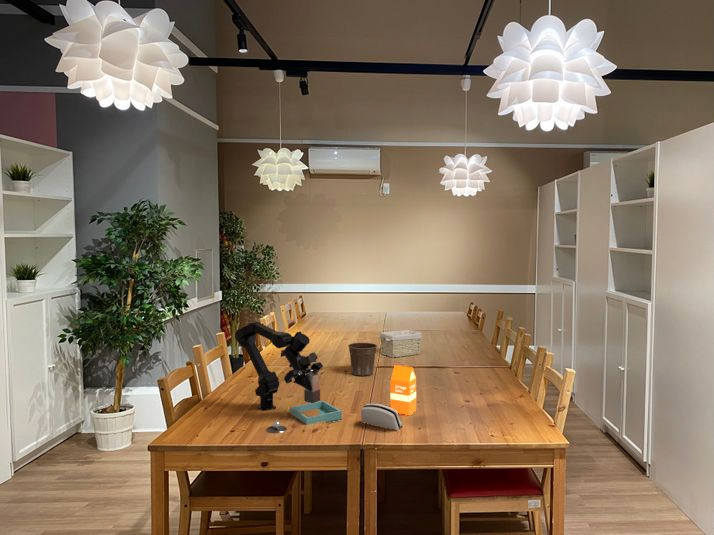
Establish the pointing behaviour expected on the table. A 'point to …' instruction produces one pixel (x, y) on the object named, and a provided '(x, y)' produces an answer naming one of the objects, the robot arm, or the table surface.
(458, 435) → the table surface
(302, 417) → the bin
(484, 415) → the table surface
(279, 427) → the stud plate
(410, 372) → the orange juice
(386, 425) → the magnetic glass cleaner
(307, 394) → the strut
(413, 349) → the storage basket
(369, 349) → the plant pot
